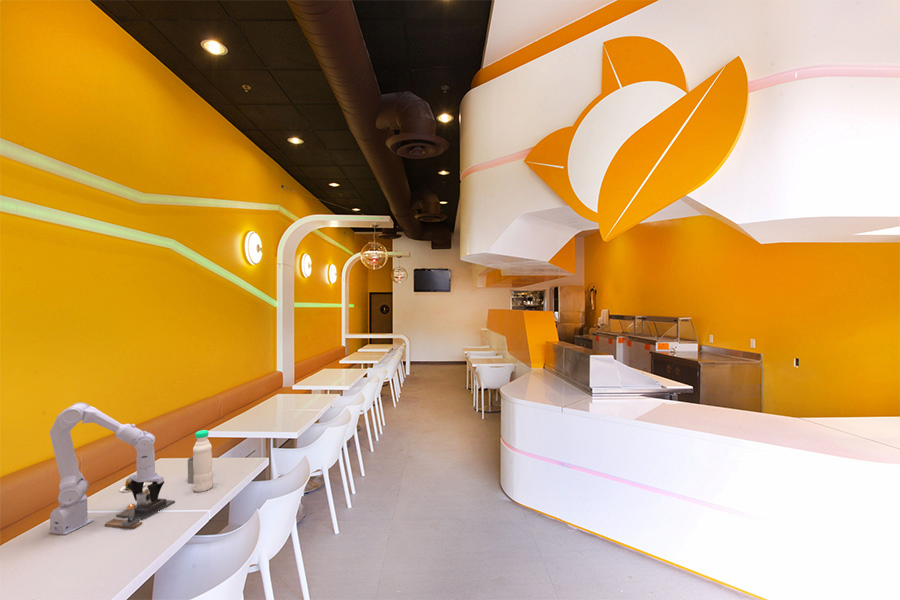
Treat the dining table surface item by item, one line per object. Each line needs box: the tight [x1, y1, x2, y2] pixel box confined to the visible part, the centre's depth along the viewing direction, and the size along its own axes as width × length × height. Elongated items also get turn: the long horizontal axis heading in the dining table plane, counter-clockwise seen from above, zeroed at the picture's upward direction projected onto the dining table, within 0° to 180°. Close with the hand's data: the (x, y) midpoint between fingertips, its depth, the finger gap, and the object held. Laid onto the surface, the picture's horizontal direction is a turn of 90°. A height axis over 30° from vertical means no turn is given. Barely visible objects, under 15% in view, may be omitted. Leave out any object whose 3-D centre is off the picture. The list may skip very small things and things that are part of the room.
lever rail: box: [104, 518, 143, 530], centre depth 144 cm, size 3×13×1 cm, turn 78°
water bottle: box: [192, 429, 213, 493], centre depth 172 cm, size 7×7×25 cm
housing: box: [136, 488, 157, 509], centre depth 156 cm, size 4×4×7 cm
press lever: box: [122, 503, 141, 526], centre depth 143 cm, size 4×4×7 cm
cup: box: [187, 456, 194, 485], centre depth 182 cm, size 8×8×10 cm
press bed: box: [115, 497, 176, 520], centre depth 155 cm, size 13×13×2 cm
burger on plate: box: [119, 477, 146, 493], centre depth 176 cm, size 12×12×6 cm
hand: (146, 500), depth 155 cm, fingers open, 7 cm apart
